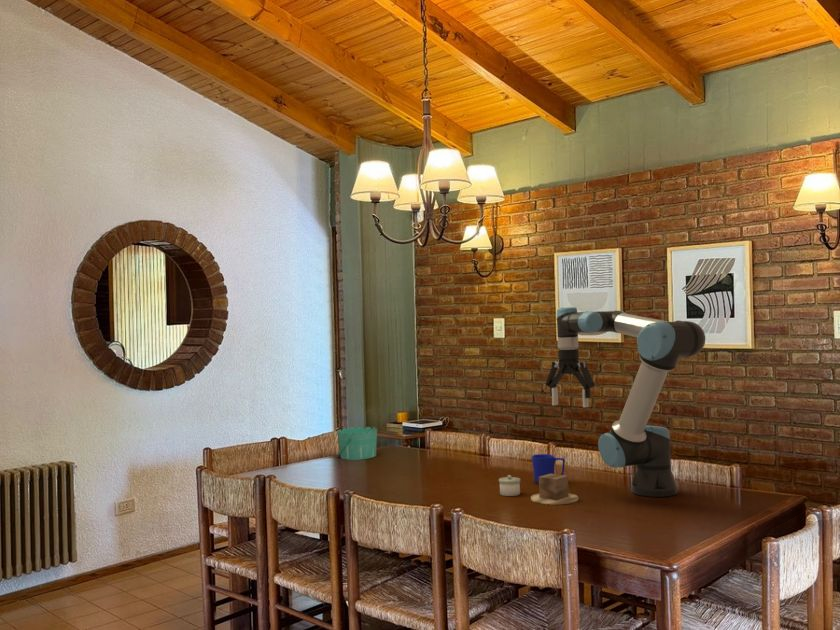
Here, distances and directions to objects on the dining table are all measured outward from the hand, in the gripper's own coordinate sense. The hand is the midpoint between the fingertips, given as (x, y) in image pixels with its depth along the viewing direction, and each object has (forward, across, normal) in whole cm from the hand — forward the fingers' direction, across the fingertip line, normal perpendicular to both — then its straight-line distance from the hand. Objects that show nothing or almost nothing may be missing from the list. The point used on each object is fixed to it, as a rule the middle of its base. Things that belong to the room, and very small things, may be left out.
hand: (570, 406), depth 276 cm
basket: (+29, +113, +11) cm, 117 cm away
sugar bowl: (+29, +8, +27) cm, 40 cm away
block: (+28, -9, +24) cm, 38 cm away
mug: (+29, +8, +4) cm, 30 cm away
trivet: (+29, -9, +24) cm, 38 cm away
